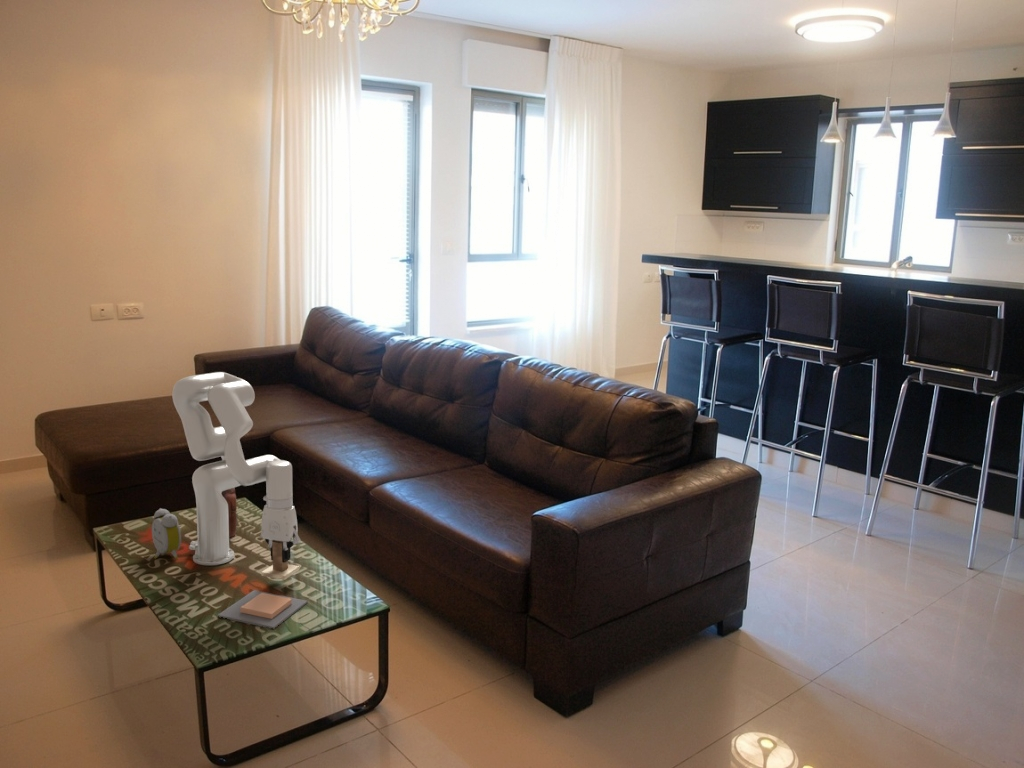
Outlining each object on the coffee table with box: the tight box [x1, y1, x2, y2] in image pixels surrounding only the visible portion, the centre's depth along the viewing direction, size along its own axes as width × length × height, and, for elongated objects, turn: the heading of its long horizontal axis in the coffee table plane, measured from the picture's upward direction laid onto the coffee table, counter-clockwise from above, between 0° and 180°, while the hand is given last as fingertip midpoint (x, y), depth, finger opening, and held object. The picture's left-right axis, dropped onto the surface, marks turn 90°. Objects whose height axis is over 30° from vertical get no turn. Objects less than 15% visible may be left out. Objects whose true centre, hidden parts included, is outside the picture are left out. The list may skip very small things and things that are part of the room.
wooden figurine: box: [221, 487, 238, 538], centre depth 287 cm, size 12×6×18 cm, turn 28°
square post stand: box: [260, 540, 300, 581], centre depth 249 cm, size 8×8×10 cm
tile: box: [241, 593, 292, 619], centre depth 234 cm, size 2×10×10 cm
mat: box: [217, 589, 309, 630], centre depth 235 cm, size 18×17×1 cm
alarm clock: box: [151, 507, 182, 560], centre depth 266 cm, size 12×7×15 cm, turn 44°
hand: (280, 559), depth 250 cm, fingers closed on square post stand, 3 cm apart
